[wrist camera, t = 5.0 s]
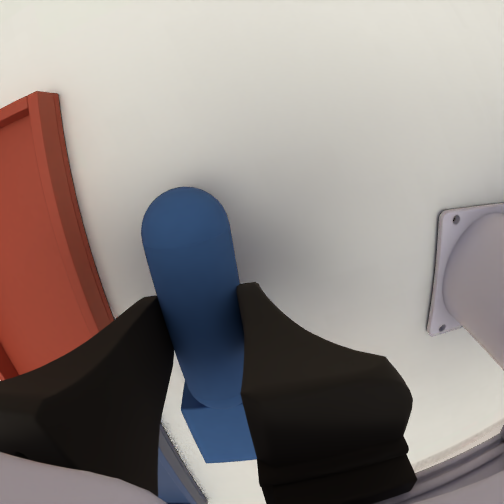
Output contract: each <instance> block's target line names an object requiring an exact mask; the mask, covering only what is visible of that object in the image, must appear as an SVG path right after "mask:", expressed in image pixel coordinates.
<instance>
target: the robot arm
mask: <svg viewBox="0 0 504 504" xmlns="http://www.w3.org/2000/svg"><path fill="white" fill-rule="evenodd" d="M455 215H456V218H455V221H454V222H453V218H454V216H455ZM236 292H237V298H238V303H239V309H240V314H241V319H242V325H243V330H244V365H243V377H242V386H241V392H240V395H241V399H242V403H243V407H244V411H245V415H246V419H247V423H248V426H249V430H250V434H251V438H252V442H253V446H254V449H255V453H256V457H257V464H258V476H259V484H260V487H262V491H263V494H264V497H265V500H266V504H504V425H503V427H502V429H501V432H500V433H499V434H497V435H496V436H494V437H492V438H490V439H488V440H487V441H485V442H483V443H481V444H479V445H477V446H475V447H473V448H471V449H469V450H467V451H466V452H463V453H461V454H459V455H457V456H455V457H453V458H450V459H448V460H446V461H444V462H442V463H439V464H437V465H434V466H432V467H430V468H427V469H425V470H422V471H420V472H417V473H414V470H413V468H412V466H411V464H410V461H409V459H408V457H407V455H406V454H407V453H408V451H409V449H408V445H407V443H406V441H405V439H404V436H403V435H404V432H405V429H406V426H407V423H408V420H409V417H410V413H411V410H412V402H413V398H412V395H411V392H410V390H409V388H408V387H407V385H406V383H405V381H404V380H403V378H402V377H401V376H400V374H399V373H398V372H397V370H396V369H395V368H394V367H393V365H392V364H391V363H390V362H389V361H388V359H387V358H386V357H384V356H379V355H375V354H370V353H365V352H360V351H356V350H352V349H349V348H346V347H343V346H340V345H337V344H335V343H332V342H329V341H327V340H325V339H323V338H321V337H319V336H316V335H314V334H312V333H311V332H309V331H307V330H305V329H304V328H302V327H300V326H299V325H298V324H296V323H295V322H294V321H292V320H291V319H290V318H288V317H287V316H286V315H285V314H284V313H283V312H282V311H280V310H279V309H278V308H277V307H276V306H275V305H274V304H273V303H272V302H271V301H270V299H269V298H268V297H267V296H266V295H265V293H264V292H263V291H262V289H261V288H260V286H259V284H258V283H256V282H251V283H244V284H239V285H238V286H237V290H236ZM441 325H442V326H441ZM440 326H441V327H440ZM460 327H464V328H465V329H466V330H467V331H468V332H469V333H470V334H471V336H472V337H473V338H474V339H475V340H476V341H477V342H478V343H479V344H480V345H481V346H482V347H483V348H484V349H485V350H486V351H487V353H488V354H489V355H490V356H491V357H492V358H493V359H494V360H495V361H496V362H497V364H498V365H499V366H500V367H501V368H502V369H503V370H504V203H498V204H490V205H481V206H473V207H465V208H458V209H450V210H445V211H443V212H442V213H441V215H440V217H439V229H438V245H437V257H436V268H435V277H434V285H433V293H432V300H431V307H430V314H429V320H428V326H427V332H428V333H429V335H430V336H436V335H439V334H442V333H445V332H448V331H451V330H454V329H457V328H460ZM173 359H174V347H173V344H172V341H171V338H170V335H169V332H168V329H167V326H166V323H165V320H164V317H163V314H162V310H161V307H160V304H159V300H158V297H157V296H149V297H144V298H142V299H140V300H139V301H137V302H136V303H135V304H133V305H132V306H131V307H130V308H128V309H127V310H126V311H125V312H123V313H122V314H121V315H120V316H119V317H117V318H116V319H115V320H114V321H113V322H111V323H110V324H109V325H108V326H106V327H105V328H104V329H102V330H101V331H100V332H98V333H97V334H96V335H94V336H93V337H92V338H90V339H89V340H88V341H86V342H85V343H83V344H82V345H80V346H79V347H77V348H75V349H74V350H72V351H70V352H69V353H67V354H65V355H63V356H61V357H59V358H58V359H56V360H54V361H52V362H50V363H48V364H46V365H44V366H42V367H39V368H37V369H34V370H32V371H30V372H27V373H24V374H22V375H19V376H16V377H13V378H9V379H6V380H2V381H0V504H167V503H166V502H165V501H163V500H162V499H160V498H159V497H158V448H159V434H160V423H161V417H162V412H163V407H164V403H165V398H166V394H167V389H168V385H169V381H170V376H171V372H172V367H173Z"/></svg>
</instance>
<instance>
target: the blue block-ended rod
mask: <svg viewBox="0 0 504 504" xmlns="http://www.w3.org/2000/svg"><path fill="white" fill-rule="evenodd" d="M141 236H142V243H143V247H144V251H145V255H146V258H147V262H148V266H149V269H150V273H151V276H152V280H153V283H154V287H155V290H156V294H157V297H158V300H159V304H160V307H161V310H162V314H163V317H164V320H165V323H166V326H167V329H168V332H169V335H170V338H171V341H172V344H173V347H174V350H175V353H176V356H177V359H178V362H179V365H180V367H181V370H182V373H183V376H184V378H185V384H184V391H183V397H182V404H181V411H182V414H183V416H184V418H185V420H186V423H187V425H188V427H189V429H190V431H191V433H192V435H193V438H194V440H195V442H196V444H197V446H198V448H199V450H200V452H201V454H202V456H203V458H204V460H205V462H206V463H221V462H234V461H245V460H254V459H257V457H256V453H255V449H254V446H253V442H252V438H251V434H250V430H249V426H248V423H247V419H246V415H245V411H244V407H243V403H242V399H241V395H240V392H241V386H242V377H243V365H244V330H243V325H242V319H241V314H240V309H239V303H238V298H237V292H236V290H237V286H238V285H239V284H240V282H239V277H238V271H237V265H236V259H235V253H234V248H233V242H232V236H231V230H230V224H229V221H228V217H227V214H226V212H225V210H224V208H223V206H222V205H221V204H220V203H219V201H218V200H217V199H216V198H214V197H213V196H212V195H211V194H209V193H207V192H205V191H203V190H201V189H198V188H194V187H178V188H174V189H170V190H168V191H166V192H164V193H162V194H161V195H160V196H158V197H157V198H156V199H155V200H154V201H153V202H152V203H151V205H150V206H149V207H148V209H147V211H146V213H145V215H144V218H143V221H142V228H141Z"/></svg>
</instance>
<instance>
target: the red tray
mask: <svg viewBox="0 0 504 504" xmlns="http://www.w3.org/2000/svg"><path fill="white" fill-rule="evenodd" d="M113 321H114V318H113V316H112V313H111V310H110V308H109V305H108V302H107V299H106V297H105V294H104V291H103V288H102V285H101V282H100V279H99V276H98V273H97V270H96V267H95V264H94V260H93V257H92V254H91V251H90V247H89V244H88V240H87V237H86V233H85V230H84V226H83V222H82V219H81V215H80V211H79V207H78V203H77V199H76V194H75V190H74V186H73V181H72V176H71V172H70V167H69V162H68V156H67V151H66V145H65V139H64V133H63V127H62V120H61V113H60V105H59V97H58V94H57V93H48V92H40V91H36V92H34V93H31V94H29V95H28V96H25V97H23V98H21V99H19V100H17V101H15V102H13V103H11V104H9V105H7V106H5V107H3V108H1V109H0V380H1V381H2V380H6V379H9V378H13V377H16V376H19V375H22V374H24V373H27V372H30V371H32V370H34V369H37V368H39V367H42V366H44V365H46V364H48V363H50V362H52V361H54V360H56V359H58V358H59V357H61V356H63V355H65V354H67V353H69V352H70V351H72V350H74V349H75V348H77V347H79V346H80V345H82V344H83V343H85V342H86V341H88V340H89V339H90V338H92V337H93V336H94V335H96V334H97V333H98V332H100V331H101V330H102V329H104V328H105V327H106V326H108V325H109V324H110V323H111V322H113Z"/></svg>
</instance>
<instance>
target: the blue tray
mask: <svg viewBox="0 0 504 504" xmlns="http://www.w3.org/2000/svg"><path fill="white" fill-rule="evenodd" d="M158 497H159V498H160V499H162V500H163V501H165V502H166V503H167V504H208V501H207V500H206V498H205V497H204V495H203V494H202V492H201V491H200V489H199V487H198V486H197V484H196V483H195V481H194V480H193V478H192V476H191V475H190V473H189V472H188V470H187V468H186V467H185V465H184V463H183V462H182V460H181V458H180V457H179V455H178V453H177V451H176V450H175V448H174V446H173V444H172V443H171V441H170V439H169V437H168V435H167V434H166V432H165V430H164V428H163V426H162V424H161V423H160V434H159V448H158Z"/></svg>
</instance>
